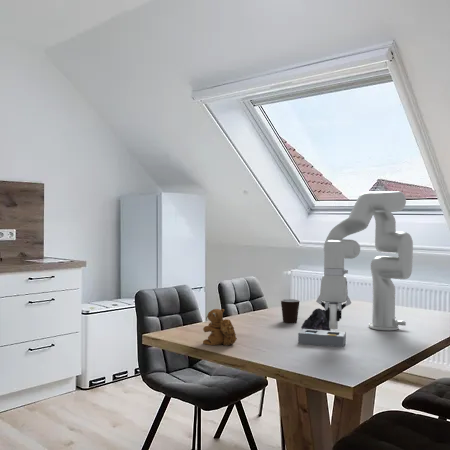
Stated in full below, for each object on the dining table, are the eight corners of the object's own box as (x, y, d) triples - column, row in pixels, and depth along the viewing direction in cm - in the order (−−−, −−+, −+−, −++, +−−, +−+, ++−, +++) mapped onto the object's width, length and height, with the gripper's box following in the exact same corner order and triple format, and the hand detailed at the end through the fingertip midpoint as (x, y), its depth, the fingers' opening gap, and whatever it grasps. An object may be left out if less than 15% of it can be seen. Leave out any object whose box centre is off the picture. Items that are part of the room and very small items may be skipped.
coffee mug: (293, 324, 247) (293, 302, 247) (277, 322, 252) (277, 300, 252) (305, 320, 256) (306, 299, 256) (289, 318, 261) (290, 297, 261)
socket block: (345, 342, 213) (345, 331, 213) (343, 347, 205) (343, 336, 205) (302, 338, 219) (302, 328, 219) (298, 343, 211) (298, 332, 211)
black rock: (308, 336, 226) (310, 313, 225) (295, 327, 239) (297, 305, 238) (337, 337, 230) (339, 314, 229) (322, 328, 243) (325, 306, 242)
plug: (338, 327, 211) (338, 299, 211) (337, 329, 208) (337, 300, 208) (329, 327, 212) (329, 298, 212) (328, 328, 209) (328, 300, 209)
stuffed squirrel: (215, 338, 218) (215, 305, 218) (243, 344, 209) (244, 309, 209) (198, 343, 210) (198, 309, 210) (227, 349, 201) (227, 313, 201)
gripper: (356, 272, 211) (356, 320, 211) (314, 270, 216) (313, 317, 217) (354, 274, 204) (354, 323, 204) (310, 272, 209) (310, 320, 210)
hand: (333, 319), depth 210 cm, fingers closed on plug, 3 cm apart
